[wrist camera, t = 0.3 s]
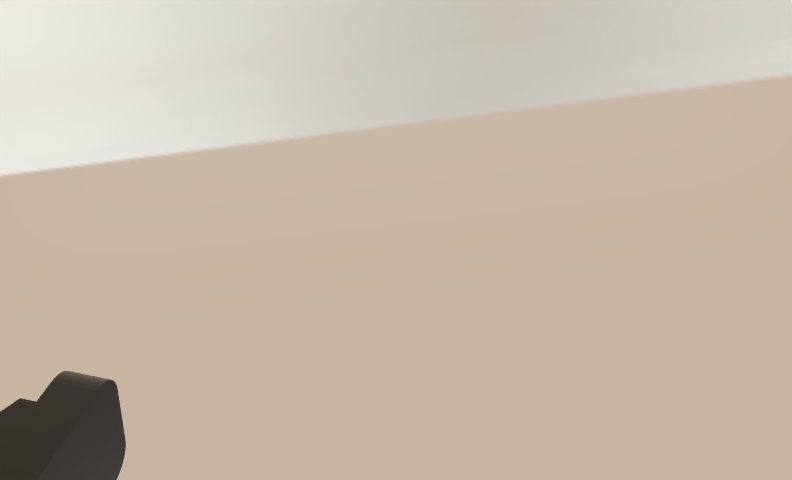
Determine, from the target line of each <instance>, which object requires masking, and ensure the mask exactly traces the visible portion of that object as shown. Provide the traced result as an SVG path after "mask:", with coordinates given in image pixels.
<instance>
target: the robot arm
mask: <svg viewBox="0 0 792 480" xmlns="http://www.w3.org/2000/svg"><path fill="white" fill-rule="evenodd" d="M125 447H126V442H125V435H124V429H123V422H122V415H121V409H120V403H119V396H118V390H117V385H116V383H115V382H114V381H113V380H109V379H104V378H100V377H95V376H90V375H84V374H80V373H75V372H70V371H64V372H61V373H60V374H58V376H56V377H55V378H54V379H53V381H52V382H51V383H50V385H49V386H48V387H47V389H46V390H45V391H44V393H43V394H42V395H41V396H40V398H39V399H38V401H37V402H35V401H30V400H25V399H18V400H17V401H15V402H14V403H13V404H11V405H10V406H8V407H7V408H5V409H4V410H2V411H1V412H0V480H116V479H117V477H118V475H119V473H120V470H121V467H122V463H123V459H124V455H125Z"/></svg>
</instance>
